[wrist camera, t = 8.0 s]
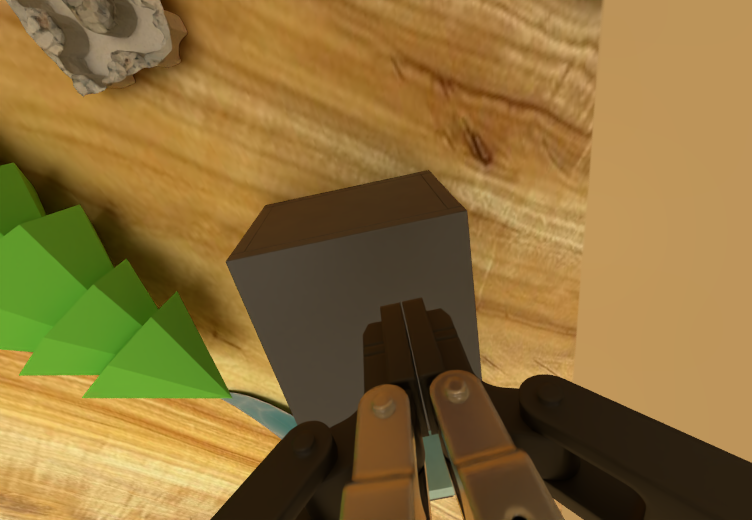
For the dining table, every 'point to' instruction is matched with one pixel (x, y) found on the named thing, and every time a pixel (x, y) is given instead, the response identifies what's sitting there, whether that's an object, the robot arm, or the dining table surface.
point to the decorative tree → (90, 307)
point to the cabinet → (351, 282)
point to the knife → (264, 413)
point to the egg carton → (102, 38)
